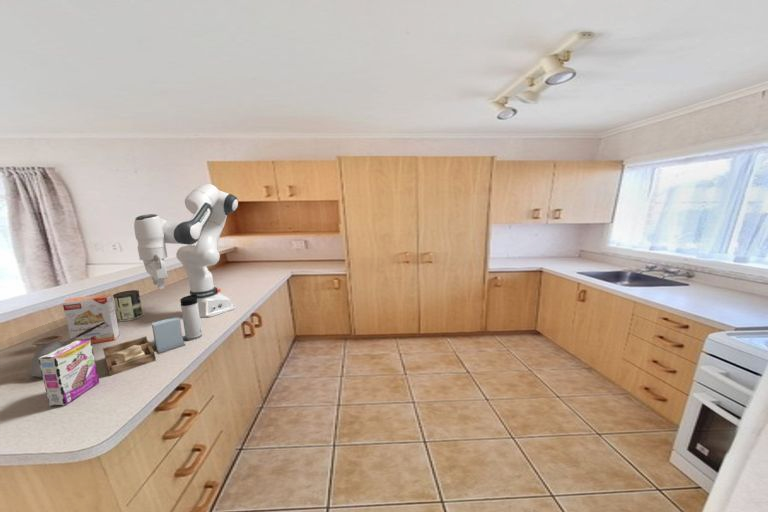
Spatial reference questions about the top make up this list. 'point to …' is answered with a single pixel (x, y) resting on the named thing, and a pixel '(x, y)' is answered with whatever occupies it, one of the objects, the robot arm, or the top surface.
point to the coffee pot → (50, 349)
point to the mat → (170, 347)
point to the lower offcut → (130, 359)
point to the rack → (114, 369)
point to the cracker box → (91, 318)
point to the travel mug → (191, 317)
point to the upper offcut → (129, 353)
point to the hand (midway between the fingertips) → (158, 286)
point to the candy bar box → (69, 372)
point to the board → (167, 332)
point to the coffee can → (128, 305)
